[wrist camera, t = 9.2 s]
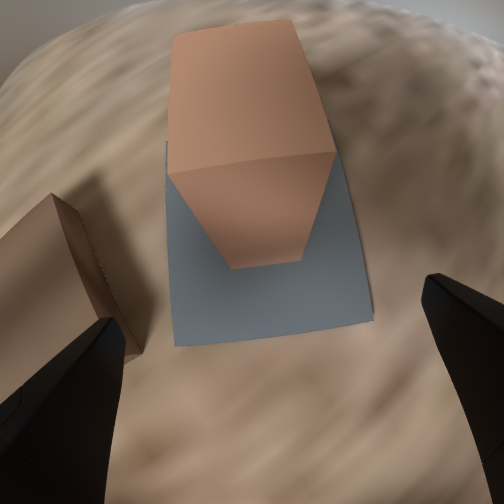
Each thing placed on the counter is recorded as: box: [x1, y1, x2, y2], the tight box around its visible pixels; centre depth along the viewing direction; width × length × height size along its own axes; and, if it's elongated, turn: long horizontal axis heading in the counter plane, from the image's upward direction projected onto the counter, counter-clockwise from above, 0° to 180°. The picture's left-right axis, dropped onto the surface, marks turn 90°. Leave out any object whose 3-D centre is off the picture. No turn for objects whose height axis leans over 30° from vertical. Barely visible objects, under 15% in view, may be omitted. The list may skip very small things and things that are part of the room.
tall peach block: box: [167, 20, 336, 270], centre depth 12 cm, size 5×4×10 cm
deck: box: [0, 193, 143, 404], centre depth 15 cm, size 10×10×3 cm
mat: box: [166, 119, 374, 346], centre depth 17 cm, size 12×10×1 cm
